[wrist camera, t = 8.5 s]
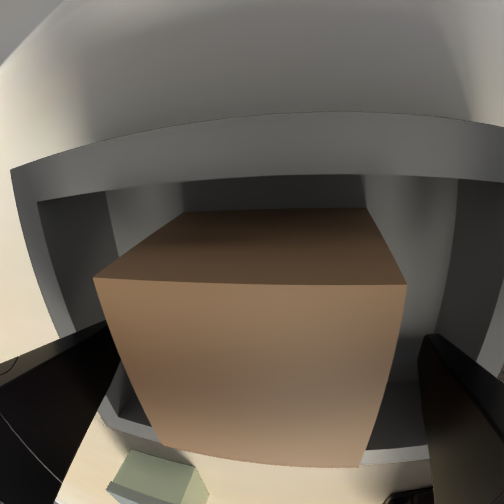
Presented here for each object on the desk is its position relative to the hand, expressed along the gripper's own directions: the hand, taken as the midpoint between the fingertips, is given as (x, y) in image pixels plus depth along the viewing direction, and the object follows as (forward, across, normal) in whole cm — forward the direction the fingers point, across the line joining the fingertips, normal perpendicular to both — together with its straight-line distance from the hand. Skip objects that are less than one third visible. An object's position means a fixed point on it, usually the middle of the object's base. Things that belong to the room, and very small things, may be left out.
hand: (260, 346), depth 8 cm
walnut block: (+3, 0, 0) cm, 3 cm away
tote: (+4, 0, 0) cm, 4 cm away
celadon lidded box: (+4, +10, +20) cm, 23 cm away
